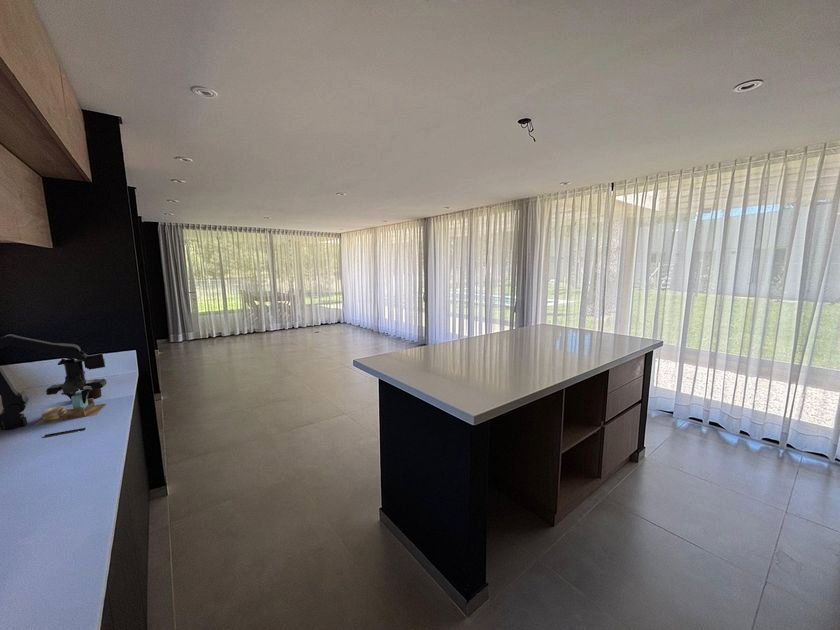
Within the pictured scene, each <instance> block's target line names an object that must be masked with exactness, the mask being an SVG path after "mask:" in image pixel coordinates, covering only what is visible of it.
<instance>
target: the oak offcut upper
mask: <svg viewBox="0 0 840 630" xmlns="http://www.w3.org/2000/svg"><path fill="white" fill-rule="evenodd" d="M64 409H66V407H65V405H60V406H54V407H49V408H47V409H46V410H45V411H44V412H43V413H41V418H43V417H49V416H55V415H59V414H60V413H61V412H62V411H63V410H64Z"/></svg>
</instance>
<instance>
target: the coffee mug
mask: <svg viewBox="0 0 840 630" xmlns="http://www.w3.org/2000/svg"><path fill="white" fill-rule="evenodd" d="M98 379H99V378H91V379H85V380H86V381H87V382H86V383H91V382H93V381H94V380H98ZM80 390H83V388H79V391H80ZM101 397H102V388H96V389H92V390H91V391H90V392H89V394H88V397H87V399H91V398H93V399H94V400H95V399H99V398H101Z"/></svg>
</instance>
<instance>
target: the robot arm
mask: <svg viewBox="0 0 840 630" xmlns="http://www.w3.org/2000/svg"><path fill="white" fill-rule="evenodd" d="M9 346H12V347H13V346H14V347H19V348H25V349H29V350H35V351H40V352H45V353H49V354H53V355H55V356H58V357H61V359H60V361H58V362H57V366H63V367H64V371H65V378H64V379H65V380H64V382H63V383H59V384H52V385H50V386H49V387H47V389H45V393H46V396H51V395H56V394H58V393H59V392H60V394H61V395H62V396H63V395H64V396H66V397H68V398H69V399H70V401H72V399H71V397H72V396H73V395H74V394H75V393H76V392H78V391H80V389H79V388H83V390H82V391H81V392H82V394H83V403H84V404H85V403H86V400H87V397H88V394H89V392H90V391H91V390H92V389H96V388H101V389H102V388H104V387H105V386H106V385H107V379H105V378H97V379H98V380H94V381H93V382H91V383H86V382H87V381H86V380H87V379H86V376H85V375H86V371H84V368H85V369H87V370H89V371H90V370H96V369H104V368H106V362H105V361H106V360H105V358H104V355H103V353H102V352H101V353H100V352H99V353H97V354H90V355H88V354H87V353H85V352H84V351H83V350H81V347H80V346H79V345H78V344H76V343H75V344H74V343H64V342H63V343H62V342H59V343H57V342H50V341H46V340H41V339H35V338H30V337H24V336H21V335H16V334H12V333H11V334H6V335H5V336H1V337H0V349H3V348H5V347H9ZM83 364H84V366H83ZM0 399H1V405H2V410H1V411H0V431H12V430H16V429H18V428H19V429H20V428H23V427H25V426H27V424H28V419H27V416H25V414H24V413H22V412H24V411H25V409H26V408H27V406H28V404H29V399H30V398H29V397H28V396H27V395H26V392H25V390H24V391H21V392H19V391H18V390H16V389H15V387H14V386H13V384H12V382H11V381H10V379H9V377H8V376H7V375H6V373H5V372H4V370H3V368H2V367H1V366H0Z"/></svg>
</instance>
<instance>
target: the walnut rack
mask: <svg viewBox="0 0 840 630" xmlns="http://www.w3.org/2000/svg"><path fill="white" fill-rule="evenodd" d="M87 400H88V406H87V407H86V408H84V407H81V408H75V409H73V408H67V409H66V408H65V409H66V413H65V414H63V415H62V416H61V417H60V418H58V419H52V420H46V421H43V417H41V419H40V420H39V421H37V422H36V423H35V424H34V426H38V425H44V424H50V423H51V424H52V423H56V422H62V421H68V420H69V421H70V420H75V419H81V418H87V417H93V416H94V417H95V416H97V415H98V414H99V413H100V412H101V410H103V409H104V408H105V406H106V405H107V404H108V403H107V402H106V403H100V404H95V401H94V400H95V399H93V398H91V399H87Z"/></svg>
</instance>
